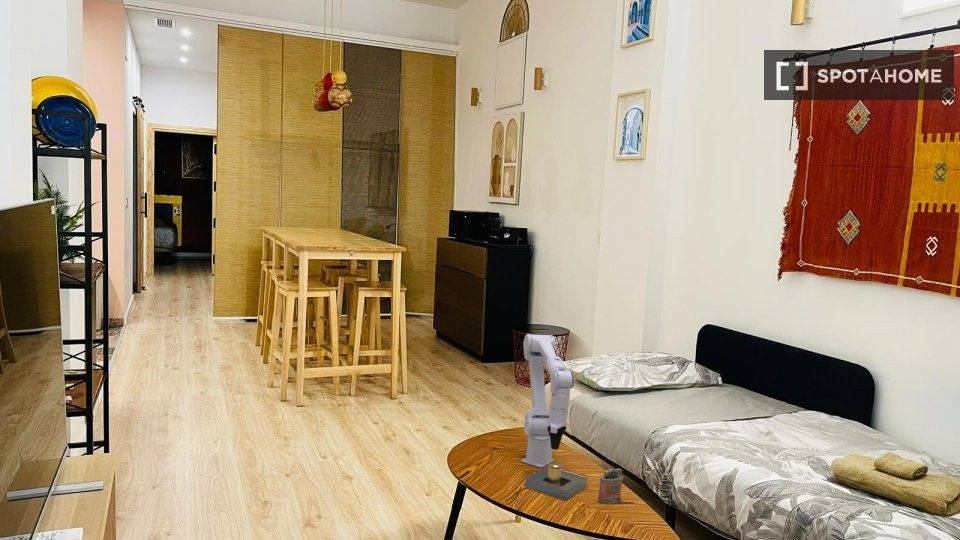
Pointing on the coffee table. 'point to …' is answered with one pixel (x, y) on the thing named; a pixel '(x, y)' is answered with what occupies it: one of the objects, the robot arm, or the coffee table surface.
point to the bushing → (554, 473)
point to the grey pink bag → (610, 487)
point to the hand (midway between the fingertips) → (554, 448)
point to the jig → (567, 487)
